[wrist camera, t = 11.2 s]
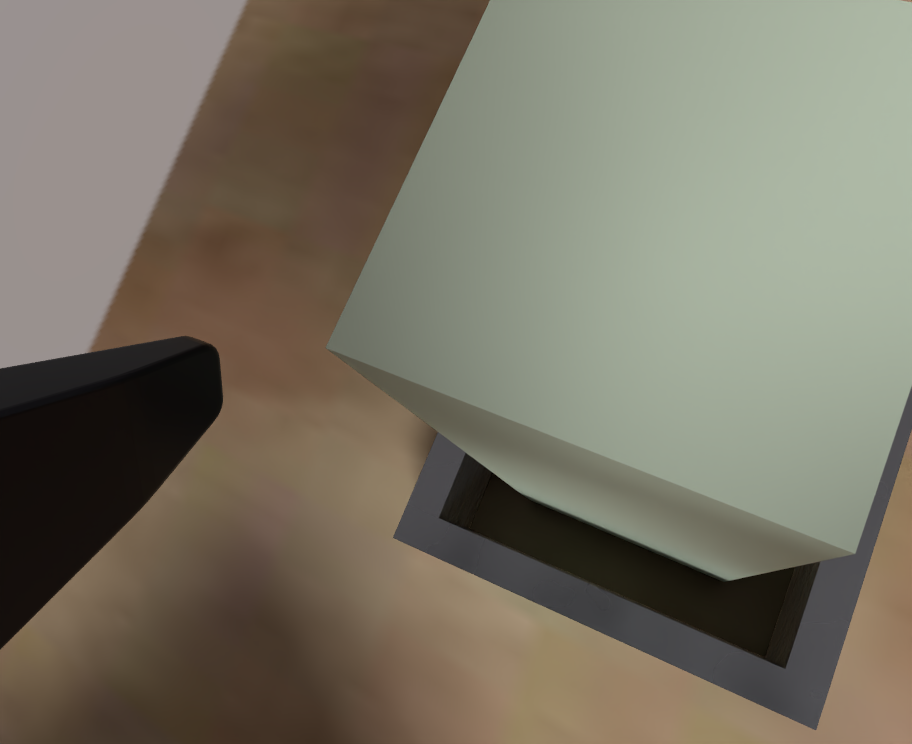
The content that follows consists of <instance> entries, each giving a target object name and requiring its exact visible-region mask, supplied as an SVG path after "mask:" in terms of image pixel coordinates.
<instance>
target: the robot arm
mask: <svg viewBox="0 0 912 744" xmlns="http://www.w3.org/2000/svg"><path fill="white" fill-rule="evenodd" d="M222 404H223V391H222V380H221V369H220V358H219V353H218V351H217V349H216V348H215V347H214V346H213V345H211V344H209V343H206V342H204V341H201V340H198V339H196V338H193V337H189V336H181V337H175V338H170V339H164V340H159V341H153V342H147V343H142V344H136V345H130V346H125V347H119V348H113V349H108V350H102V351H97V352H91V353H85V354H80V355H74V356H68V357H63V358H57V359H52V360H46V361H40V362H35V363H30V364H24V365H18V366H12V367H7V368H1V369H0V649H1V648H2V647H3V646H4V645H5V644H6V643H7V642H8V641H9V640H10V639H11V638H12V637H13V636H14V635H15V634H16V633H17V632H18V631H19V630H20V629H21V628H22V627H23V626H24V625H25V624H26V623H27V622H28V621H29V620H30V619H31V618H32V617H33V616H34V615H35V614H36V613H37V612H38V611H39V610H40V609H41V608H42V607H43V606H44V605H45V604H46V603H47V602H48V601H49V600H50V599H51V598H52V597H53V596H54V595H55V594H56V593H57V592H58V591H59V590H60V589H61V588H62V587H63V586H64V585H65V584H66V583H67V582H68V581H69V580H71V579H72V578H73V577H74V576H75V575H76V574H77V573H78V572H79V571H80V570H81V569H82V568H83V567H84V566H85V565H86V564H87V563H88V562H89V561H90V560H91V559H92V558H93V557H94V556H95V555H96V554H97V553H98V552H99V551H100V550H101V549H102V548H103V547H104V546H105V545H106V544H107V543H108V542H109V541H110V540H111V539H112V538H113V537H114V536H115V535H116V534H117V533H118V532H119V531H120V530H121V529H122V528H123V527H124V526H125V525H126V524H127V523H128V522H129V521H130V520H131V519H132V518H133V517H134V515H135V514H136V513H137V512H138V511H139V510H140V509H141V508H142V507H143V506H144V505H145V504H146V503H147V502H148V500H149V499H150V498H151V497H152V496H153V495H154V493H155V492H156V491H157V490H158V489H159V488H160V486H161V485H162V484H163V483H164V481H165V480H166V479H167V478H168V477H169V475H170V474H171V473H172V472H173V471H174V469H175V468H176V467H177V466H178V464H179V463H180V462H181V461H182V460H183V458H184V457H185V456H186V455H187V454H188V452H189V451H190V450H191V449H192V447H193V446H194V445H195V444H196V443H197V441H198V440H199V439H200V438H201V436H202V435H203V434H204V433H205V432H206V430H207V429H208V428H209V427H210V426H211V424H212V423H213V422H214V421H215V419H216V418H217V417H218V415H219V413H220V411H221V408H222Z"/></svg>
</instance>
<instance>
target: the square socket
mask: <svg viewBox="0 0 912 744" xmlns="http://www.w3.org/2000/svg"><path fill="white" fill-rule="evenodd" d="M911 430H912V387H911V390H910V392H909V395H908V398H907V401H906V404H905V407H904V410H903V413H902V416H901V419H900V422H899V425H898V428H897V431H896V434H895V437H894V440H893V443H892V446H891V449H890V452H889V455H888V458H887V461H886V464H885V467H884V470H883V473H882V476H881V479H880V482H879V485H878V488H877V491H876V494H875V497H874V500H873V502H872V505H871V508H870V511H869V514H868V517H867V520H866V523H865V526H864V529H863V532H862V535H861V538H860V541H859V544H858V547H857V550H856V553H855V554H853V555H848V556H843V557H838V558H834V559H829V560H824V561H820V562H815V563H810V564H805V565H801V566H796V567H795V569H794V572H793V575H792V578H791V581H790V584H789V587H788V590H787V593H786V596H785V599H784V602H783V605H782V608H781V611H780V614H779V617H778V620H777V623H776V626H775V629H774V632H773V635H772V638H771V641H770V644H769V646H768V649H767V652H766V655H765V657H763V656H760V655H758V654H756V653H753V652H751V651H749V650H746V649H744V648H742V647H740V646H737V645H735V644H733V643H730V642H728V641H726V640H723V639H721V638H719V637H717V636H714V635H712V634H710V633H707V632H705V631H703V630H700V629H698V628H696V627H694V626H691V625H689V624H687V623H684V622H682V621H680V620H677V619H675V618H673V617H671V616H668V615H666V614H664V613H661V612H659V611H657V610H654V609H652V608H650V607H647V606H645V605H643V604H641V603H638V602H636V601H634V600H631V599H629V598H627V597H624V596H622V595H620V594H618V593H615V592H613V591H611V590H608V589H606V588H604V587H601V586H599V585H597V584H595V583H592V582H590V581H588V580H585V579H583V578H581V577H578V576H576V575H574V574H572V573H569V572H567V571H565V570H562V569H560V568H558V567H555V566H553V565H551V564H549V563H546V562H544V561H542V560H539V559H537V558H535V557H532V556H530V555H528V554H526V553H523V552H521V551H519V550H516V549H514V548H512V547H509V546H507V545H505V544H503V543H500V542H498V541H496V540H493V539H491V538H489V537H486V536H484V535H482V534H480V533H477V532H475V531H473V530H470V529H469V528H470V526H471V523H472V521H473V518H474V516H475V513H476V511H477V509H478V506H479V504H480V501H481V499H482V496H483V494H484V492H485V489H486V487H487V484H488V482H489V479H490V477H491V474H492V472H491V471H490V470H489V469H487V468H486V467H485V466H483V465H482V464H480V463H479V462H478V461H476V460H475V459H474V458H472V457H471V456H470V455H468V454H467V453H466V452H464V451H463V450H462V449H460V448H459V447H458V446H456V445H455V444H454V443H452V442H451V441H450V440H448V439H447V438H446V437H444V436H443V435H442V434H440V433H439V432H438V433H437V436H436V438H435V440H434V443H433V445H432V447H431V450H430V452H429V454H428V457H427V459H426V461H425V464H424V466H423V469H422V471H421V473H420V476H419V478H418V480H417V483H416V485H415V487H414V490H413V492H412V494H411V497H410V499H409V501H408V504H407V506H406V508H405V511H404V513H403V515H402V518H401V520H400V522H399V525H398V527H397V529H396V532H395V534H394V537H393V538H395V539H397V540H399V541H401V542H403V543H406V544H408V545H410V546H412V547H414V548H417V549H419V550H421V551H423V552H425V553H428V554H430V555H432V556H434V557H436V558H438V559H441V560H443V561H445V562H447V563H449V564H452V565H454V566H456V567H458V568H460V569H463V570H465V571H467V572H469V573H471V574H474V575H476V576H478V577H480V578H482V579H485V580H487V581H489V582H491V583H493V584H496V585H498V586H500V587H502V588H504V589H507V590H509V591H511V592H513V593H515V594H518V595H520V596H522V597H524V598H526V599H529V600H531V601H533V602H535V603H537V604H540V605H542V606H544V607H546V608H548V609H551V610H553V611H555V612H557V613H559V614H562V615H564V616H566V617H568V618H570V619H573V620H575V621H577V622H579V623H581V624H583V625H586V626H588V627H590V628H592V629H594V630H597V631H599V632H601V633H603V634H605V635H608V636H610V637H612V638H614V639H616V640H619V641H621V642H623V643H625V644H627V645H630V646H632V647H634V648H636V649H638V650H641V651H643V652H645V653H647V654H649V655H652V656H654V657H656V658H658V659H660V660H663V661H665V662H667V663H669V664H671V665H674V666H676V667H678V668H680V669H682V670H685V671H687V672H689V673H691V674H693V675H696V676H698V677H700V678H702V679H704V680H707V681H709V682H711V683H713V684H715V685H718V686H720V687H722V688H724V689H726V690H729V691H731V692H733V693H735V694H737V695H739V696H742V697H744V698H746V699H748V700H750V701H753V702H755V703H757V704H759V705H761V706H764V707H766V708H768V709H770V710H772V711H775V712H777V713H779V714H781V715H783V716H786V717H788V718H790V719H792V720H794V721H797V722H799V723H801V724H803V725H805V726H808V727H810V728H812V729H814V730H816V729H817V725H818V722H819V719H820V716H821V713H822V710H823V707H824V703H825V700H826V697H827V694H828V691H829V688H830V685H831V681H832V678H833V675H834V672H835V669H836V666H837V662H838V659H839V656H840V653H841V650H842V647H843V644H844V640H845V637H846V634H847V631H848V628H849V625H850V622H851V618H852V615H853V612H854V609H855V606H856V603H857V600H858V596H859V593H860V590H861V587H862V584H863V581H864V578H865V574H866V571H867V568H868V565H869V562H870V559H871V555H872V552H873V549H874V546H875V543H876V540H877V537H878V533H879V530H880V527H881V524H882V521H883V518H884V515H885V511H886V508H887V505H888V502H889V499H890V496H891V493H892V489H893V486H894V483H895V480H896V477H897V474H898V471H899V467H900V464H901V461H902V458H903V455H904V452H905V448H906V445H907V442H908V439H909V436H910V433H911Z"/></svg>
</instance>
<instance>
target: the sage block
mask: <svg viewBox="0 0 912 744" xmlns="http://www.w3.org/2000/svg"><path fill="white" fill-rule="evenodd" d="M326 349H328V350H329V351H330V352H332V353H333V354H334V355H336V356H337V357H338V358H340V359H341V360H342V361H344V362H345V363H346V364H348V365H349V366H350V367H352V368H353V369H354V370H356V371H357V372H358V373H360V374H361V375H363V376H364V377H365V378H367V379H368V380H369V381H371V382H372V383H373V384H375V385H376V386H377V387H379V388H380V389H381V390H383V391H384V392H385V393H387V394H388V395H389V396H391V397H392V398H393V399H395V400H396V401H397V402H399V403H400V404H401V405H403V406H404V407H405V408H407V409H408V410H409V411H411V412H412V413H413V414H415V415H416V416H417V417H419V418H420V419H421V420H423V421H424V422H426V423H427V424H428V425H430V426H431V427H432V428H434V429H435V430H436V431H438V432H439V433H440V434H442V435H443V436H444V437H446V438H447V439H448V440H450V441H451V442H452V443H454V444H455V445H456V446H458V447H459V448H460V449H462V450H463V451H464V452H466V453H467V454H468V455H470V456H471V457H472V458H474V459H475V460H476V461H478V462H479V463H480V464H482V465H483V466H485V467H486V468H487V469H489V470H490V471H491V472H493V473H494V474H495V475H497V476H498V477H499V478H501V479H502V480H503V481H505V482H506V483H507V484H509V485H510V486H511V487H513V488H514V489H515V490H517V491H518V492H519V493H521V494H522V495H523V496H525V497H526V498H527V499H529V500H531V501H533V502H536V503H538V504H540V505H543V506H545V507H547V508H550V509H552V510H554V511H557V512H559V513H562V514H564V515H566V516H569V517H571V518H573V519H576V520H578V521H580V522H583V523H585V524H588V525H590V526H592V527H595V528H597V529H599V530H602V531H604V532H606V533H609V534H611V535H614V536H616V537H618V538H621V539H623V540H625V541H628V542H630V543H633V544H635V545H637V546H640V547H642V548H644V549H647V550H649V551H651V552H654V553H656V554H659V555H661V556H663V557H666V558H668V559H670V560H673V561H675V562H677V563H680V564H682V565H685V566H687V567H689V568H692V569H694V570H696V571H699V572H701V573H703V574H706V575H708V576H711V577H713V578H715V579H718V580H720V581H722V582H726V581H730V580H735V579H740V578H744V577H749V576H754V575H758V574H763V573H768V572H773V571H777V570H782V569H787V568H791V567H796V566H801V565H805V564H810V563H815V562H820V561H824V560H829V559H834V558H838V557H843V556H848V555H853V554H855V553H856V550H857V547H858V544H859V541H860V538H861V535H862V532H863V529H864V526H865V523H866V520H867V517H868V514H869V511H870V508H871V505H872V502H873V500H874V497H875V494H876V491H877V488H878V485H879V482H880V479H881V476H882V473H883V470H884V467H885V464H886V461H887V458H888V455H889V452H890V449H891V446H892V443H893V440H894V437H895V434H896V431H897V428H898V425H899V422H900V419H901V416H902V413H903V410H904V407H905V404H906V401H907V398H908V395H909V392H910V390H911V387H912V2H906V1H900V0H490V2H489V4H488V6H487V8H486V10H485V12H484V14H483V16H482V19H481V21H480V23H479V25H478V27H477V29H476V31H475V33H474V35H473V38H472V40H471V42H470V44H469V46H468V48H467V50H466V52H465V54H464V57H463V59H462V61H461V63H460V65H459V67H458V69H457V71H456V73H455V76H454V78H453V80H452V82H451V84H450V86H449V88H448V90H447V92H446V95H445V97H444V99H443V101H442V103H441V105H440V107H439V109H438V111H437V114H436V116H435V118H434V120H433V122H432V124H431V126H430V128H429V130H428V133H427V135H426V137H425V139H424V141H423V143H422V145H421V147H420V149H419V152H418V154H417V156H416V158H415V160H414V162H413V164H412V166H411V168H410V171H409V173H408V175H407V177H406V179H405V181H404V183H403V185H402V187H401V190H400V192H399V194H398V196H397V198H396V200H395V202H394V204H393V206H392V209H391V211H390V213H389V215H388V217H387V219H386V221H385V223H384V226H383V228H382V230H381V232H380V234H379V236H378V238H377V240H376V242H375V245H374V247H373V249H372V251H371V253H370V255H369V257H368V259H367V261H366V264H365V266H364V268H363V270H362V272H361V274H360V276H359V278H358V280H357V283H356V285H355V287H354V289H353V291H352V293H351V295H350V297H349V299H348V302H347V304H346V306H345V308H344V310H343V312H342V314H341V316H340V318H339V321H338V323H337V325H336V327H335V329H334V331H333V333H332V335H331V337H330V340H329V342H328V344H327V346H326Z"/></svg>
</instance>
